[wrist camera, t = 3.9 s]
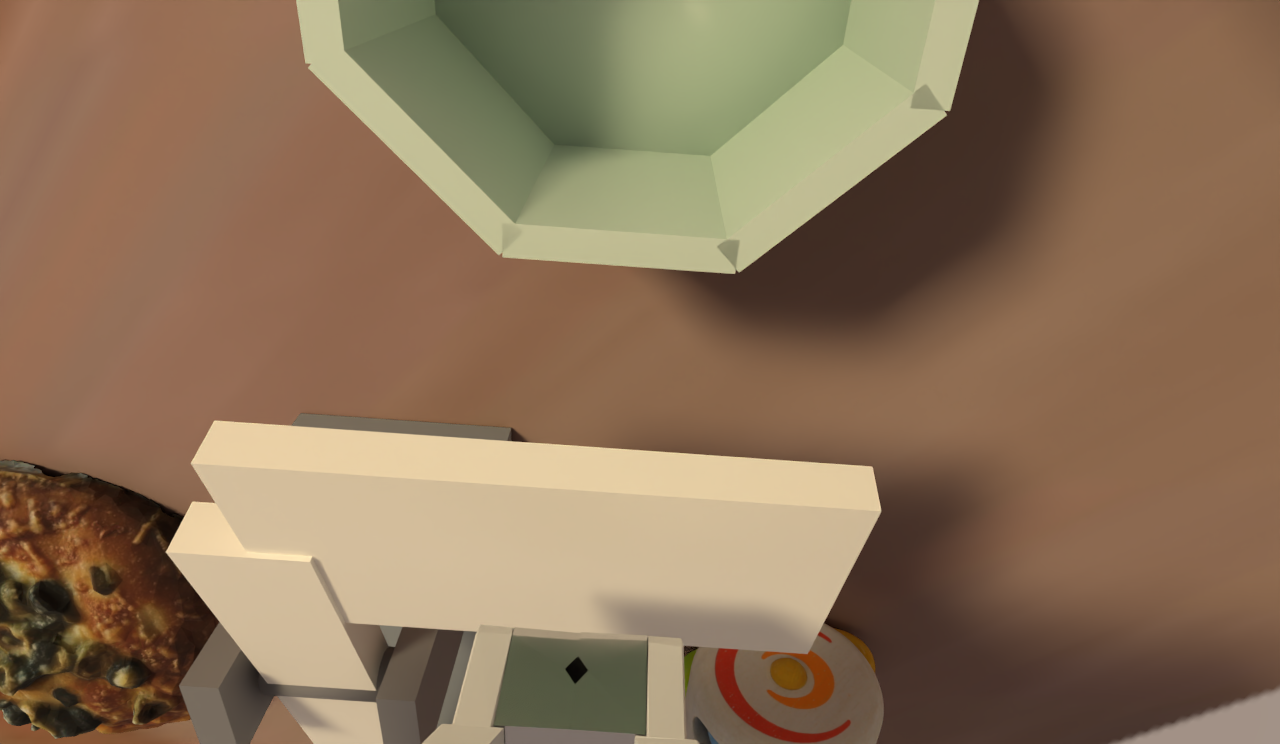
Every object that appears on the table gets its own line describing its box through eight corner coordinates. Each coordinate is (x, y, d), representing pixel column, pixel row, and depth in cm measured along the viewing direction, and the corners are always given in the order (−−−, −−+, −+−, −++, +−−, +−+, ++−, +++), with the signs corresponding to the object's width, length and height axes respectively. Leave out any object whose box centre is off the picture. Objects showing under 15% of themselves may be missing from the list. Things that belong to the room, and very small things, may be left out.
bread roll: (326, 616, 26) (238, 757, 22) (157, 694, 31) (59, 822, 27) (43, 380, 22) (-130, 498, 18) (-100, 512, 27) (-263, 629, 23)
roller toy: (684, 584, 25) (688, 749, 20) (878, 598, 25) (931, 767, 20) (671, 674, 27) (672, 843, 22) (849, 686, 27) (890, 858, 22)
